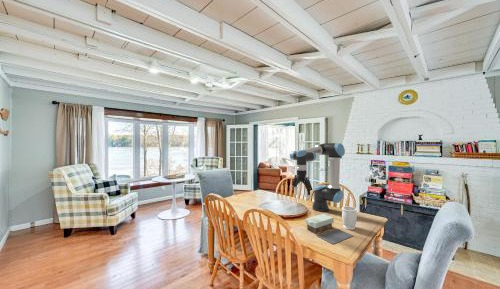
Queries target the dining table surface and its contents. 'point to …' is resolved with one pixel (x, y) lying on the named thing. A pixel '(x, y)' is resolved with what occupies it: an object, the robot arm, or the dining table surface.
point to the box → (319, 228)
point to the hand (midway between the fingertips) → (301, 196)
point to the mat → (335, 236)
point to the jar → (349, 217)
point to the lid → (319, 220)
